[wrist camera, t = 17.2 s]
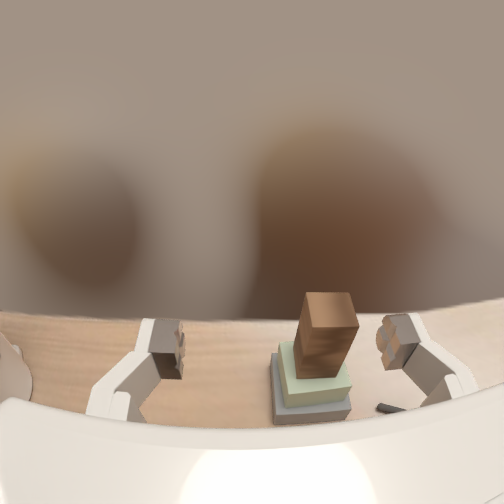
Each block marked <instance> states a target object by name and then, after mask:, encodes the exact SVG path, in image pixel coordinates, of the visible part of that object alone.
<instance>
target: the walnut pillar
mask: <svg viewBox="0 0 504 504" xmlns="http://www.w3.org/2000/svg"><path fill="white" fill-rule="evenodd" d="M358 329H359V323H358V320H357V317H356V313H355V310H354V307H353V304H352V301H351V298H350V295H349V293H317V292H307V293H306V295H305V299H304V303H303V308H302V312H301V316H300V321H299V325H298V329H297V333H296V337H295V341H294V345H293V351H294V360H295V369H296V378H297V379H316V378H336V376H337V374H338V372H339V370H340V368H341V366H342V364H343V362H344V360H345V357H346V355H347V353H348V351H349V349H350V347H351V344H352V342H353V340H354V338H355V336H356V333H357V331H358Z"/></svg>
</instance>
